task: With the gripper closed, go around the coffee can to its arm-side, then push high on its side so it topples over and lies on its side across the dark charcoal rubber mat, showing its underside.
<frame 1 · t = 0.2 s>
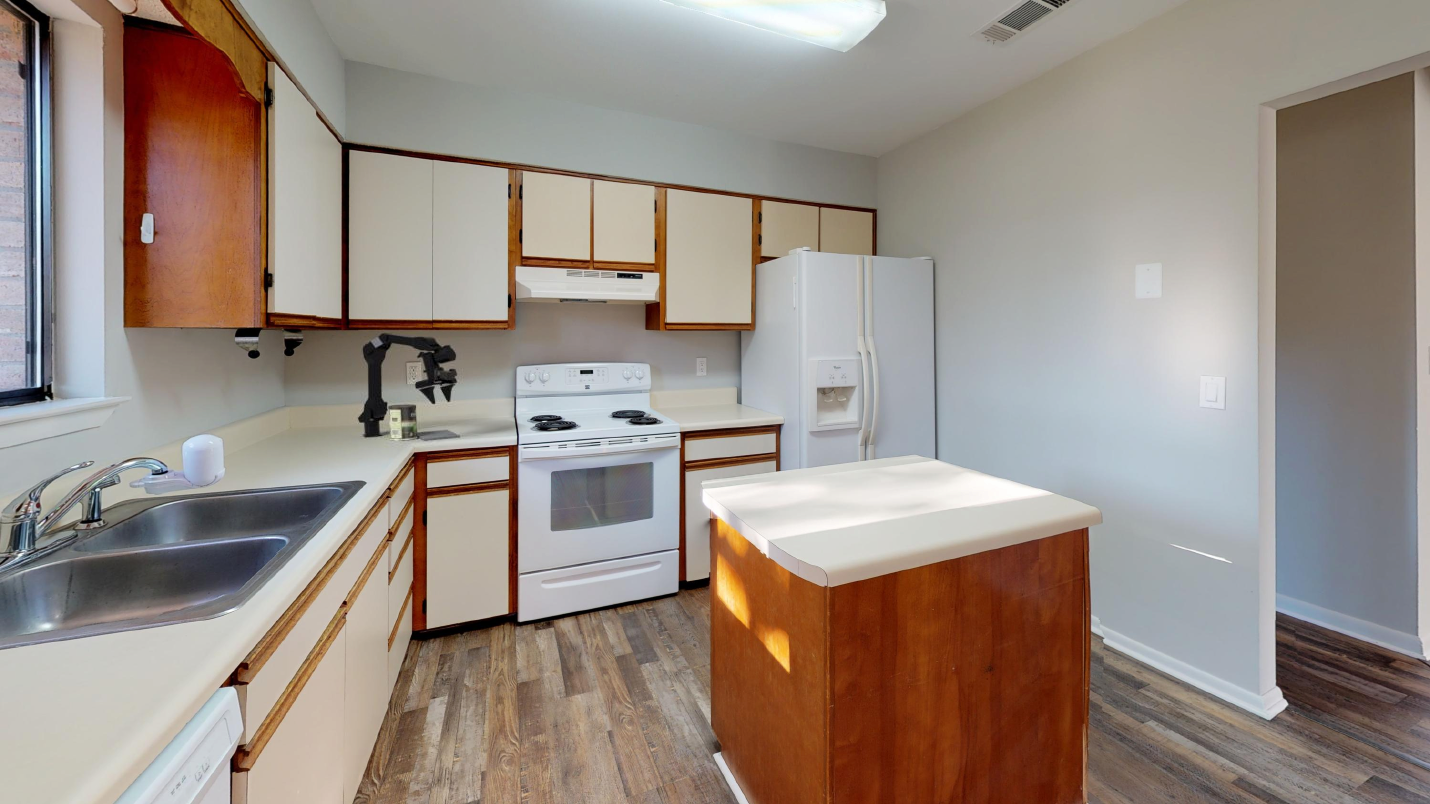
hand: (441, 402, 234), 15 cm above the worktop, tool pointing down, fingers open, 9 cm apart
rubber mat: (436, 435, 243), on the worktop
coffee can: (403, 439, 235), on the worktop
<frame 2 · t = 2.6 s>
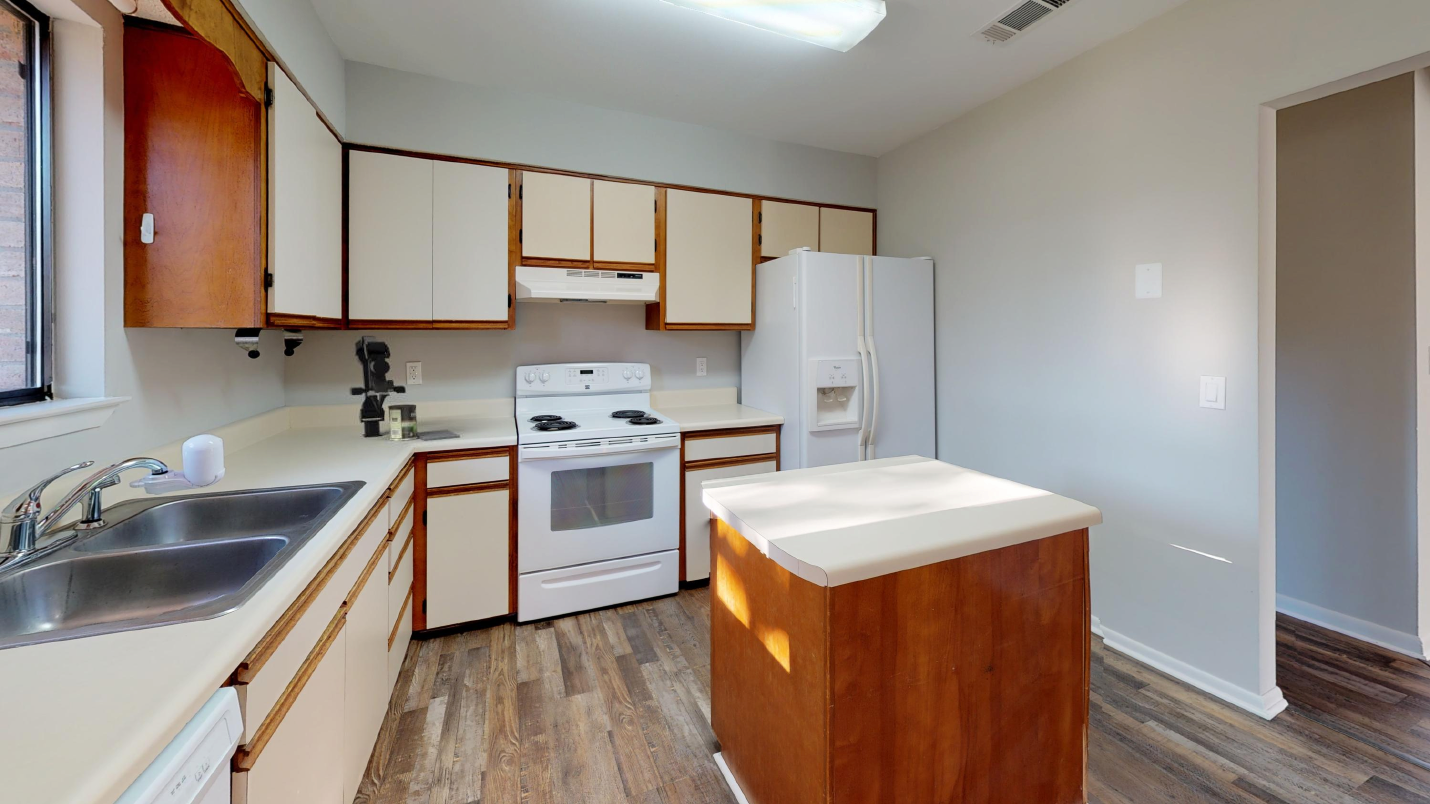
hand: (379, 411, 225), 13 cm above the worktop, tool pointing down, fingers closed
nothing on the worktop moved.
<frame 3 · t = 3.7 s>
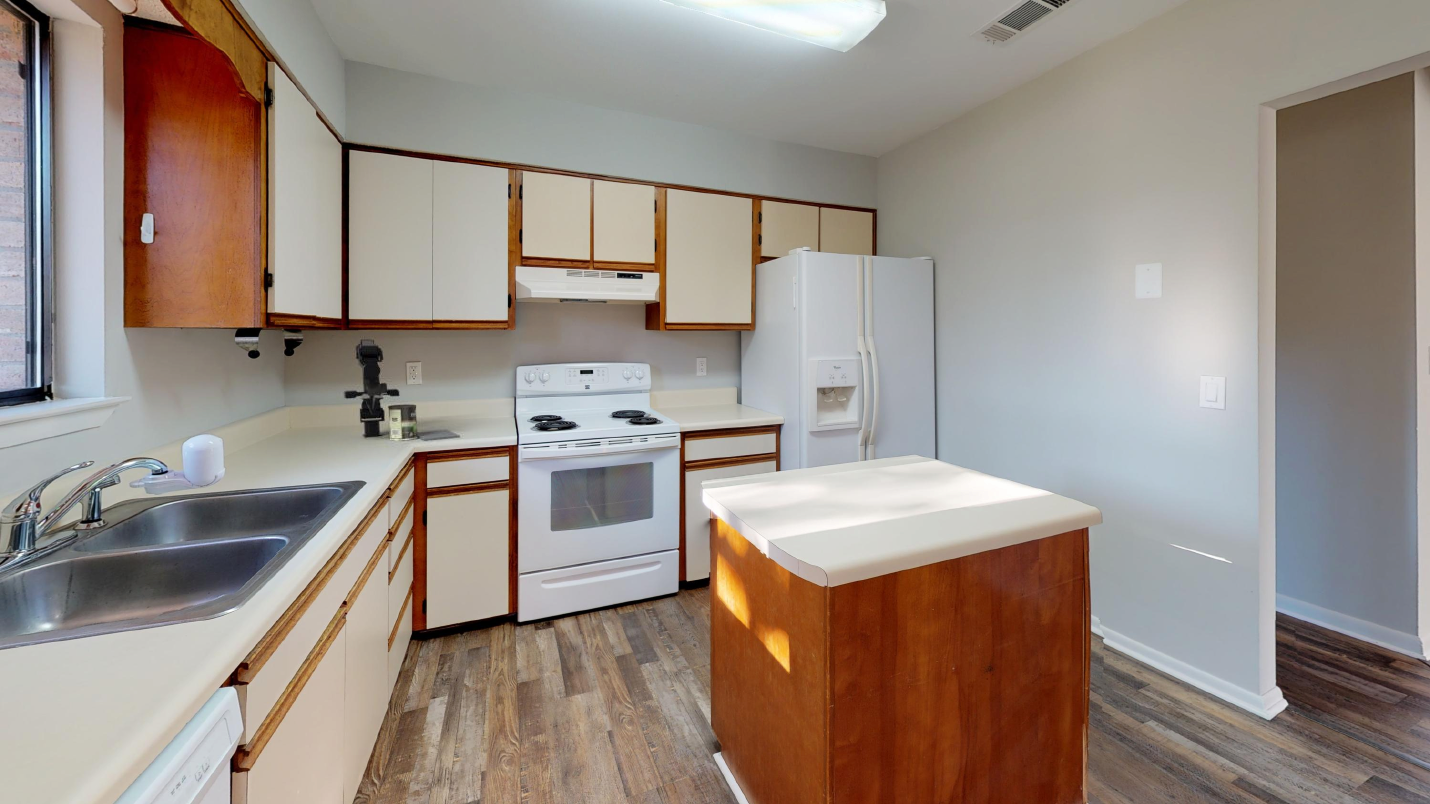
hand: (373, 414, 227), 11 cm above the worktop, tool pointing down, fingers closed
nothing on the worktop moved.
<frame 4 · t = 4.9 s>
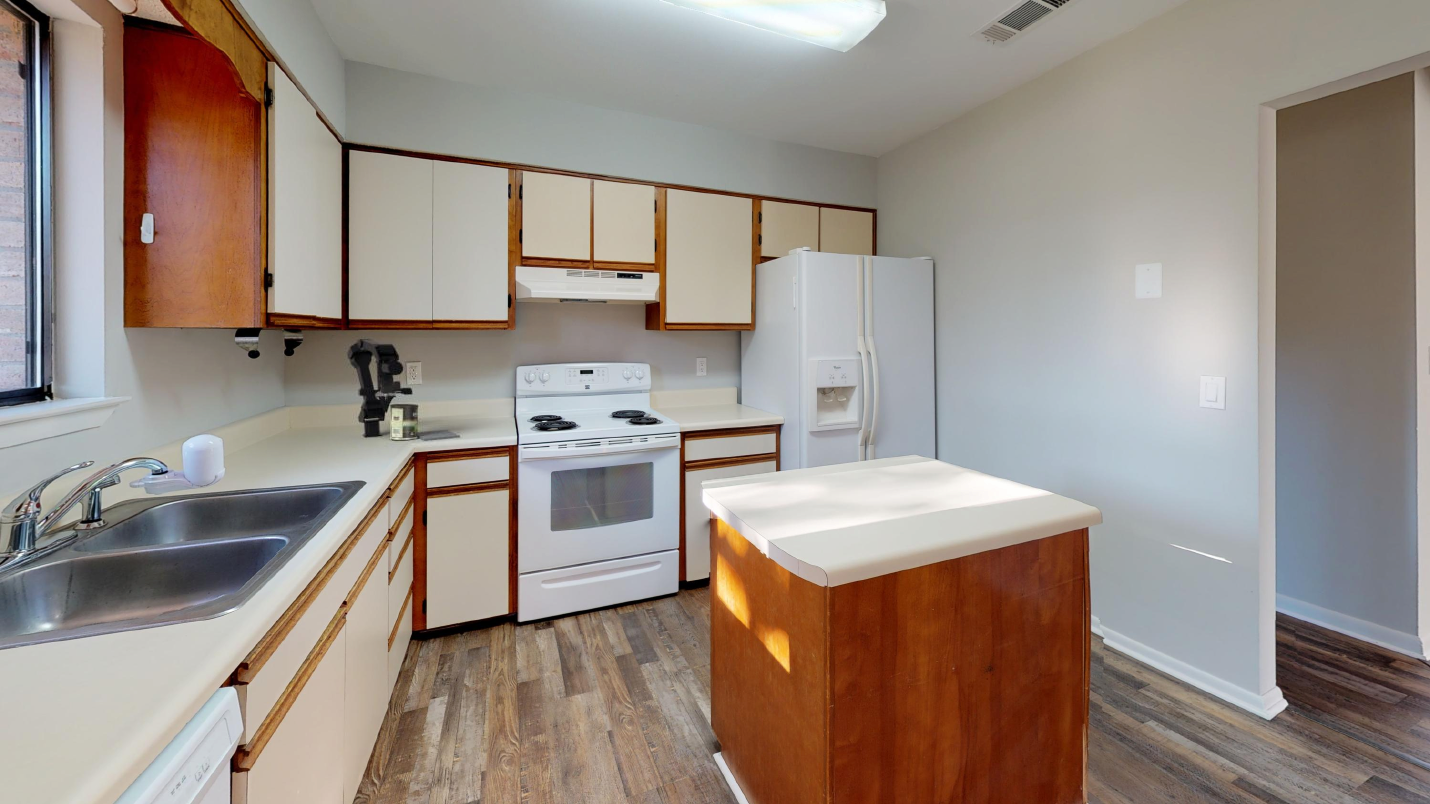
hand: (386, 412, 230), 12 cm above the worktop, tool pointing down, fingers closed
coffee can: (403, 438, 235), on the worktop, touching gripper
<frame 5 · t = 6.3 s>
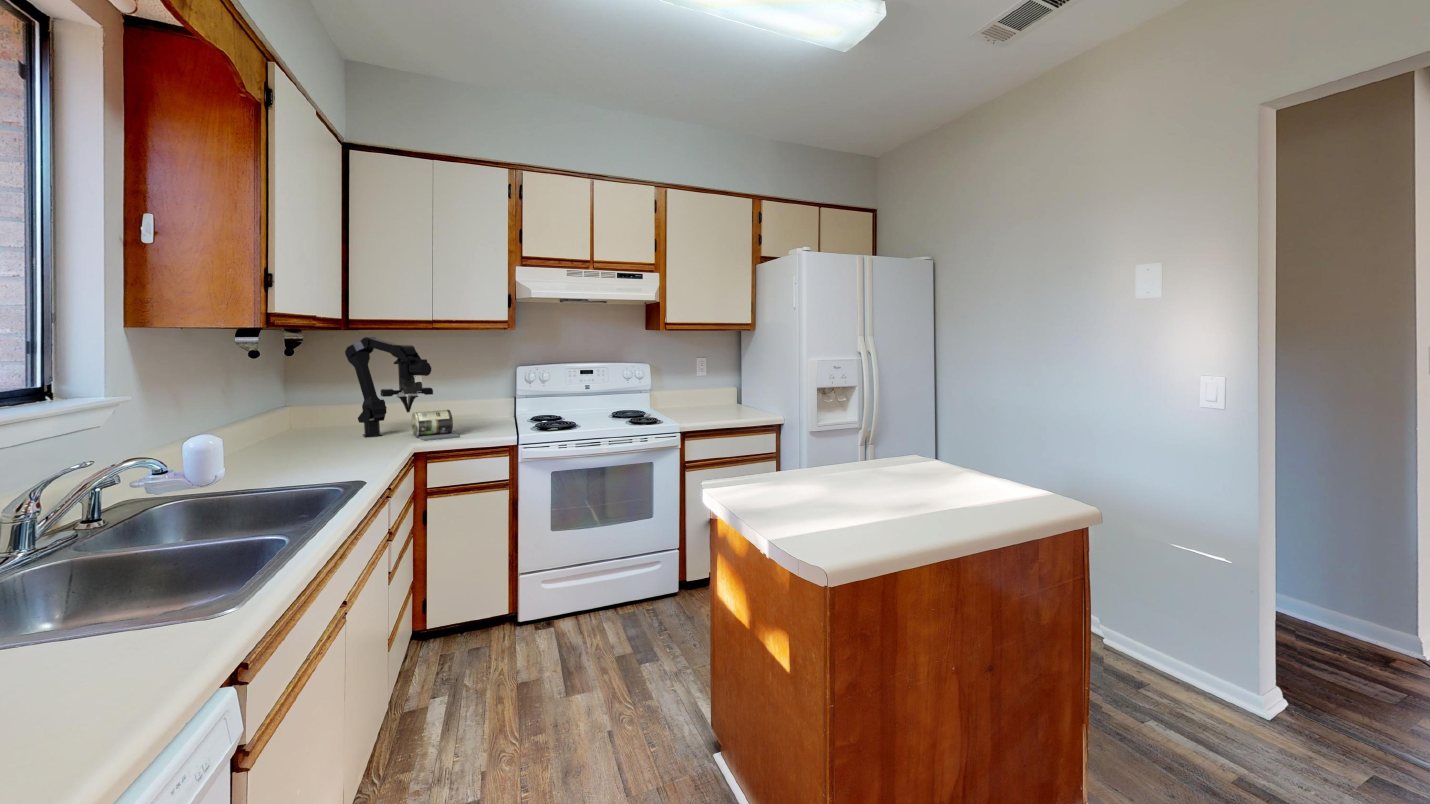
hand: (408, 412, 235), 11 cm above the worktop, tool pointing down, fingers closed
coffee can: (413, 424, 237), point 6 cm above the worktop, touching rubber mat
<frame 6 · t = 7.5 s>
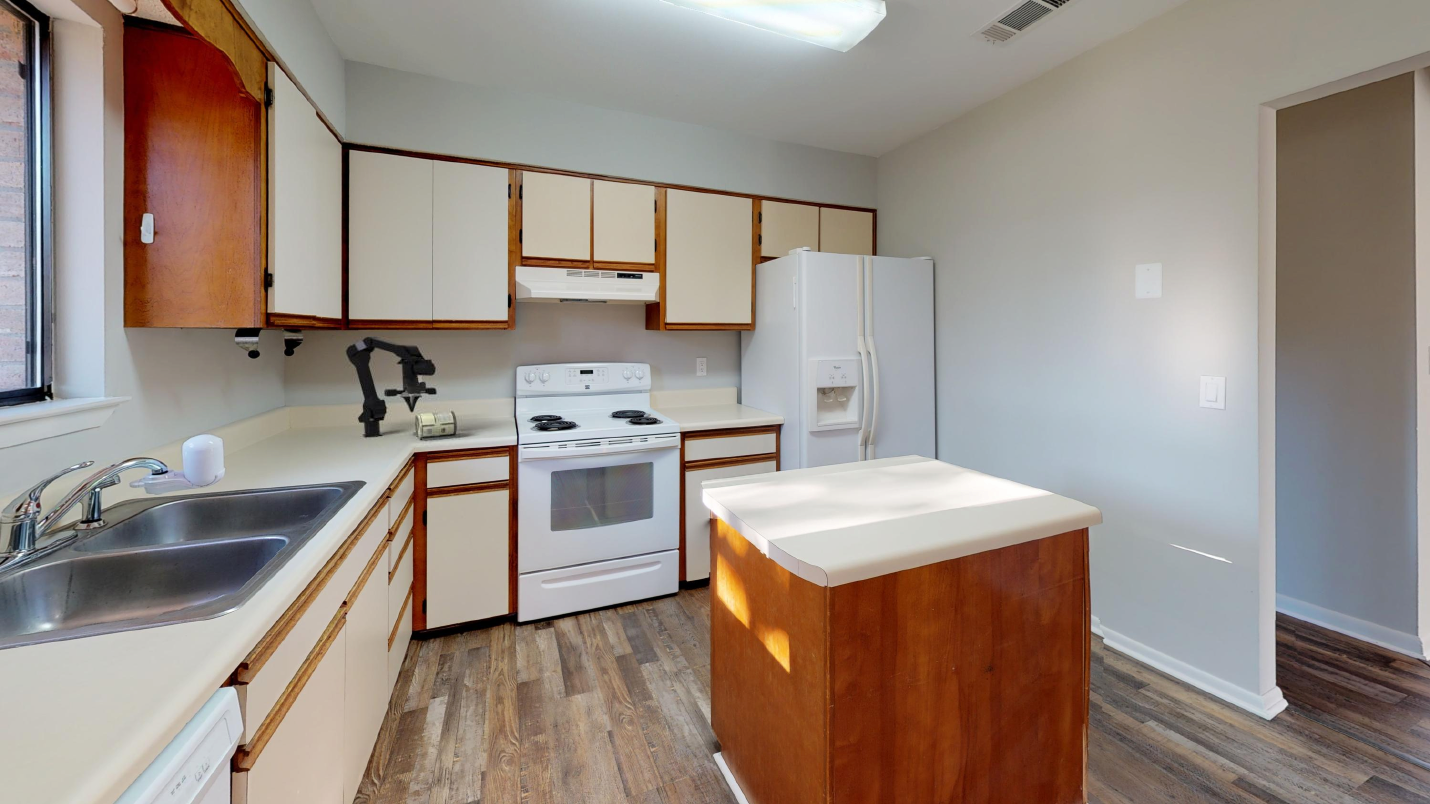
hand: (411, 412, 236), 11 cm above the worktop, tool pointing down, fingers closed
coffee can: (416, 426, 232), point 6 cm above the worktop, touching rubber mat
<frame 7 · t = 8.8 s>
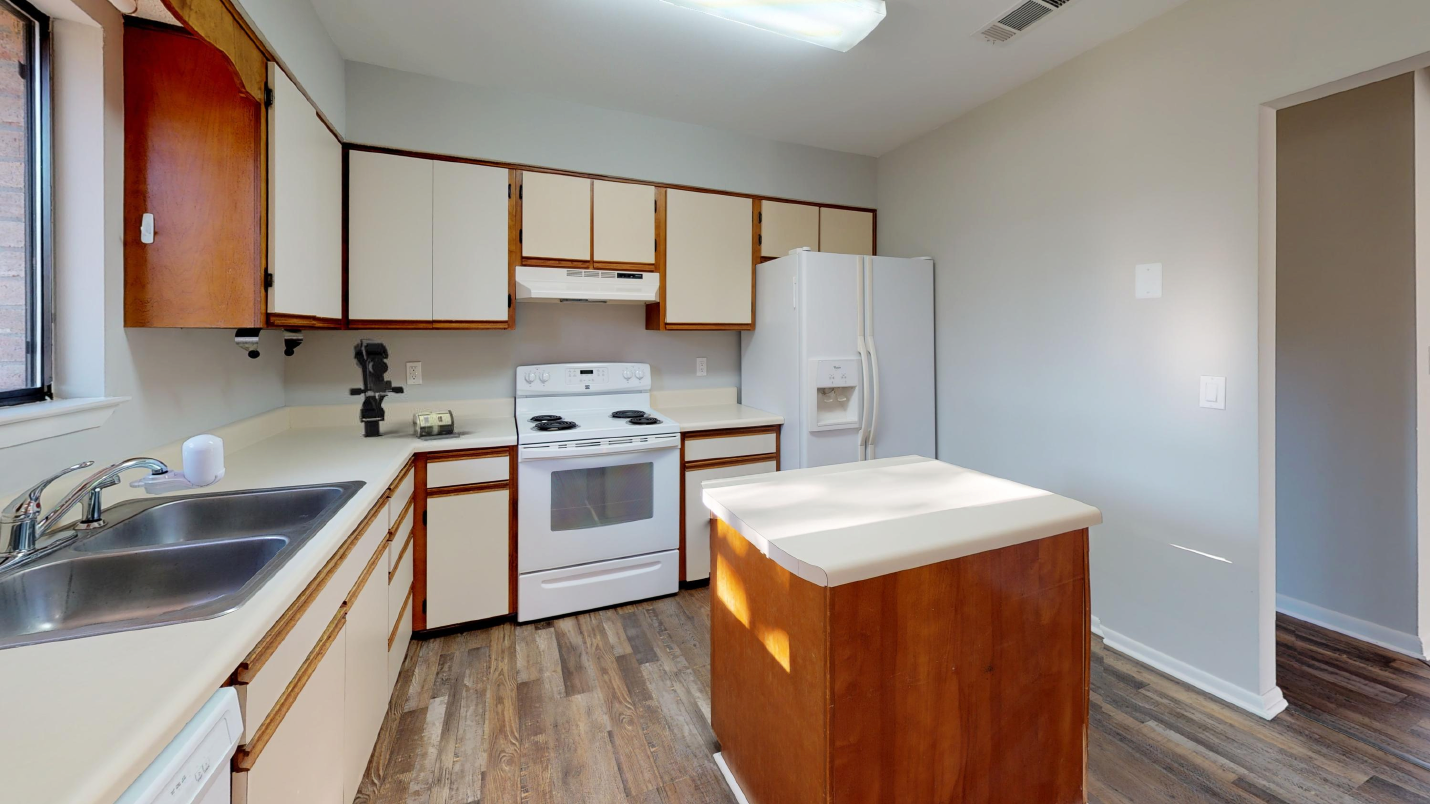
hand: (377, 411, 228), 12 cm above the worktop, tool pointing down, fingers closed
coffee can: (414, 424, 236), point 6 cm above the worktop, touching rubber mat
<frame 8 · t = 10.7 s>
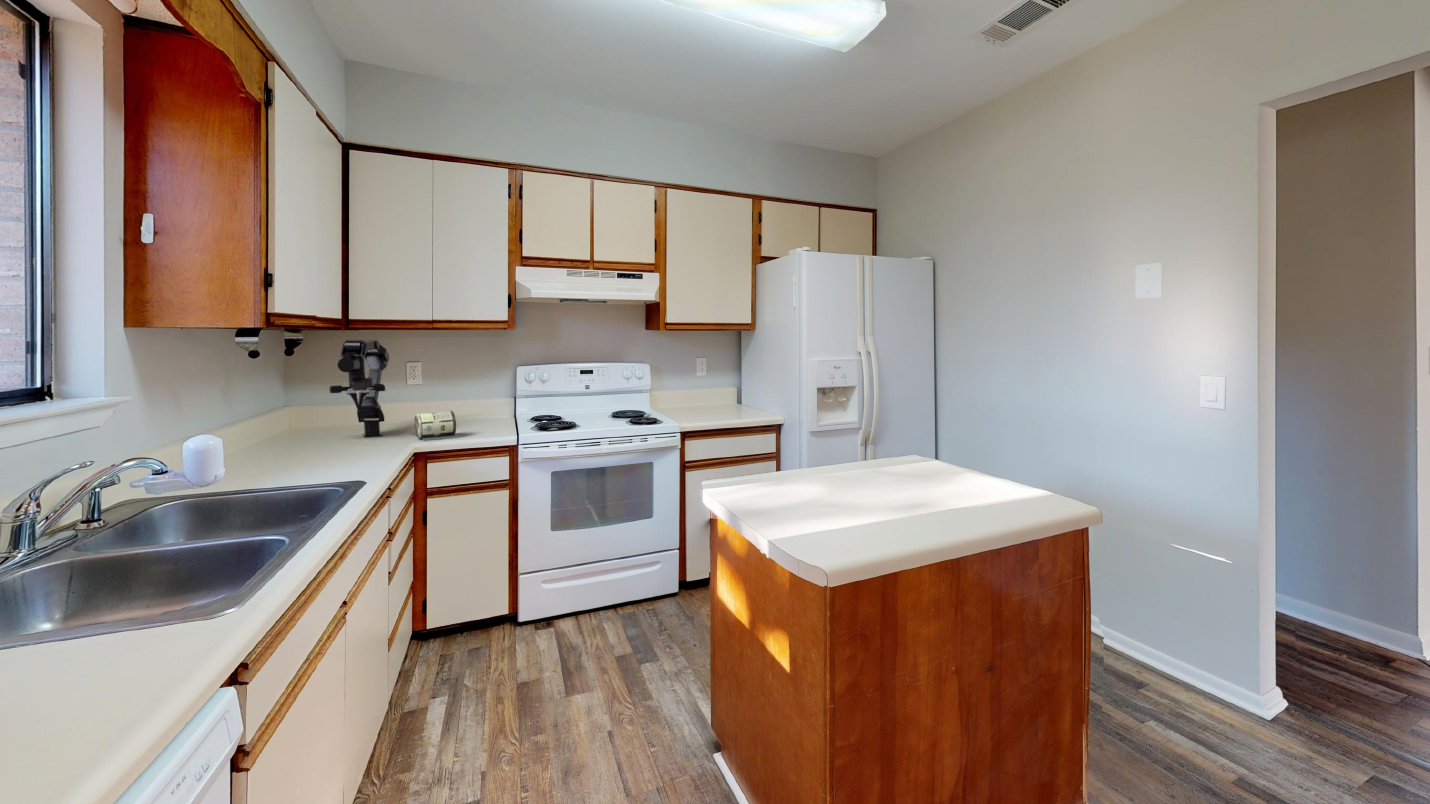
hand: (358, 409, 227), 13 cm above the worktop, tool pointing down, fingers closed
coffee can: (416, 425, 233), point 6 cm above the worktop, touching rubber mat
at the end: coffee can tilted 90°; coffee can touching rubber mat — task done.
